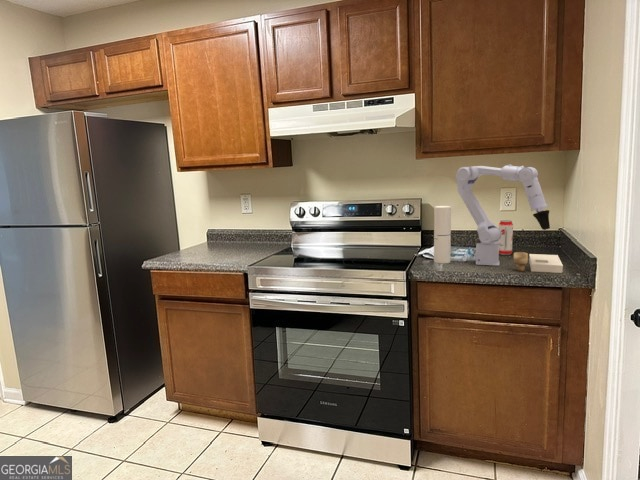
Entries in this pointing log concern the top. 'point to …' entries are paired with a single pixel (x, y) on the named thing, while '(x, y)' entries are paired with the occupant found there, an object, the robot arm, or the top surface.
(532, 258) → the board
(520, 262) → the peg
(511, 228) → the beer can
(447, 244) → the cylindrical container
